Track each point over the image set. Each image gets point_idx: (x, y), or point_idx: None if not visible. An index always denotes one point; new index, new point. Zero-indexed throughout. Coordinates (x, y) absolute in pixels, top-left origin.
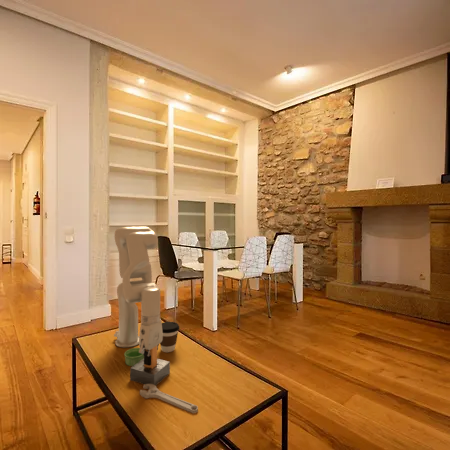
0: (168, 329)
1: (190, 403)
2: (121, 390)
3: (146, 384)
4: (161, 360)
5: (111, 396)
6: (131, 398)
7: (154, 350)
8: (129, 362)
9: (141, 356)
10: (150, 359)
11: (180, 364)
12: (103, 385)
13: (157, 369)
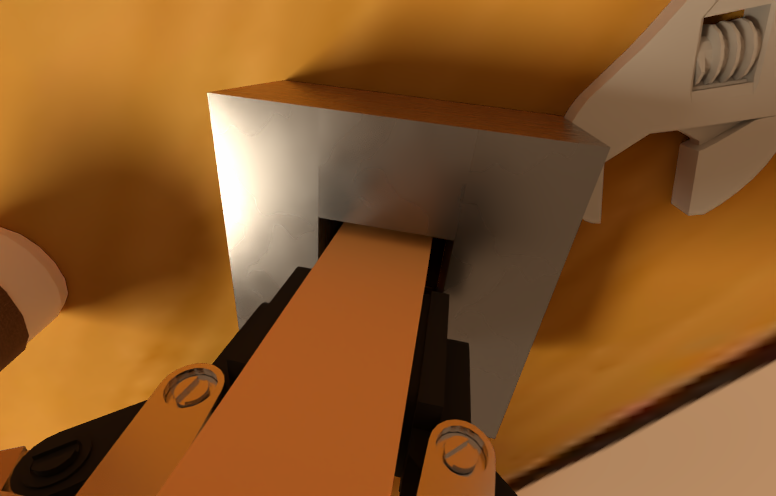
0: None
1: None
2: (633, 353)
3: None
4: (239, 220)
5: (721, 383)
6: (768, 239)
7: (314, 438)
8: None
9: None
10: (442, 351)
11: (100, 50)
12: (579, 459)
13: (457, 168)
